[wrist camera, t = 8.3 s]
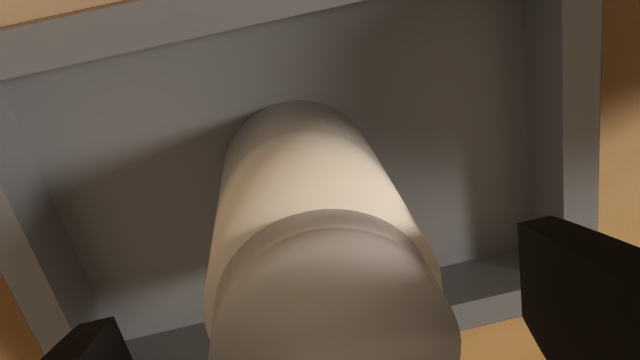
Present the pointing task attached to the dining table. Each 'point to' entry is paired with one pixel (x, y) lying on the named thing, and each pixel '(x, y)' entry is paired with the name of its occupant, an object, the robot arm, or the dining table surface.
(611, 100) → the dining table surface
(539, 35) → the tray
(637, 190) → the dining table surface
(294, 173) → the salt shaker
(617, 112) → the dining table surface
